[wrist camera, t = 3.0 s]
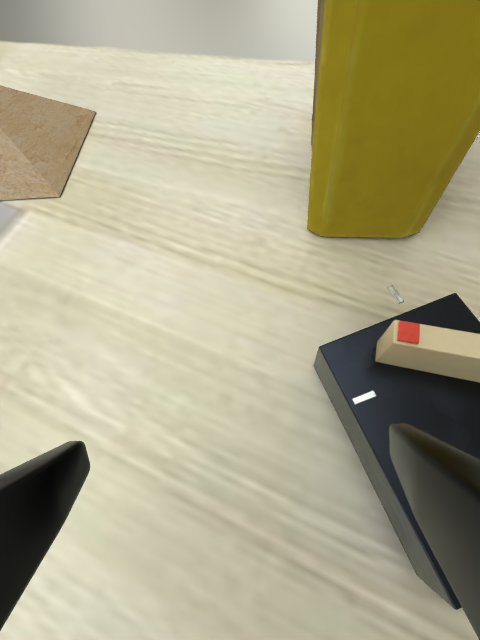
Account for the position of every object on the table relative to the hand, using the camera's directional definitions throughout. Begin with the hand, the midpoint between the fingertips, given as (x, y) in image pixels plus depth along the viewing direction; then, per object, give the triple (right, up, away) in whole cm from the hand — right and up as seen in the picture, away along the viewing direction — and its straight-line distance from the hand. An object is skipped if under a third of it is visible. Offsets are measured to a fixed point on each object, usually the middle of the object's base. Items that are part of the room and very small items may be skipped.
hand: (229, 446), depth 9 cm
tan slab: (+13, +1, +10) cm, 16 cm away
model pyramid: (-29, +27, +33) cm, 52 cm away
